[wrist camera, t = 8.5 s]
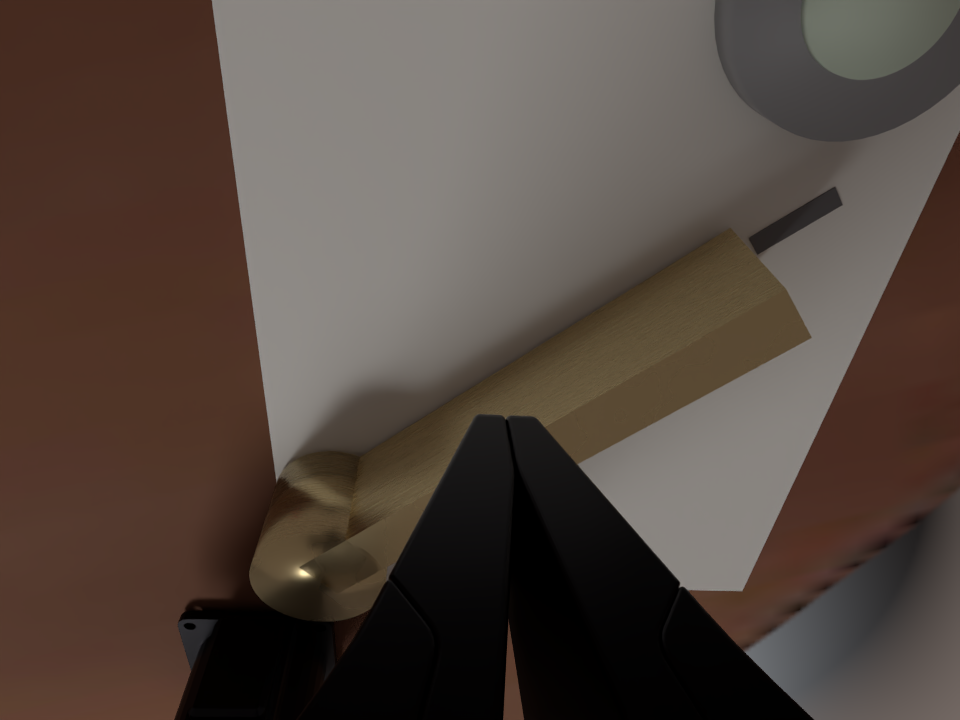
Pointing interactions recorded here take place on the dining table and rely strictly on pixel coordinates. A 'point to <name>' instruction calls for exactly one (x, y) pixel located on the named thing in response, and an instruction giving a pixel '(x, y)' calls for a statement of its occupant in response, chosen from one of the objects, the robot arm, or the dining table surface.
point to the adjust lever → (524, 392)
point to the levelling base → (576, 211)
